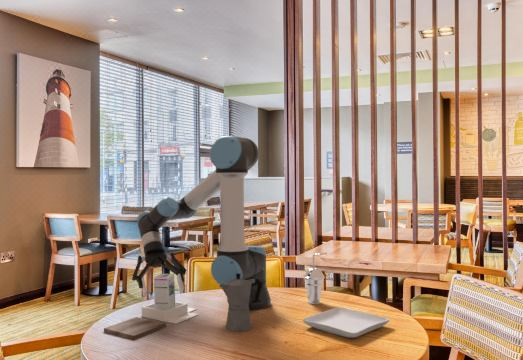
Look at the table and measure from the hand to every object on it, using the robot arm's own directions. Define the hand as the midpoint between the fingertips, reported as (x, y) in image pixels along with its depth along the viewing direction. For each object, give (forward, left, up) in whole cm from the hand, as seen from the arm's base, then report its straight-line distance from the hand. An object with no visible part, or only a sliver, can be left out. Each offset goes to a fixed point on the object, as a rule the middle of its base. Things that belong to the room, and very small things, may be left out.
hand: (164, 292), depth 171 cm
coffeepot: (-32, -4, -8) cm, 33 cm away
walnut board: (-3, +16, -8) cm, 19 cm away
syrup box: (0, -1, -8) cm, 9 cm away
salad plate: (-62, -21, -9) cm, 66 cm away
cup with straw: (-40, -43, -8) cm, 59 cm away
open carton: (-2, -3, -8) cm, 9 cm away
